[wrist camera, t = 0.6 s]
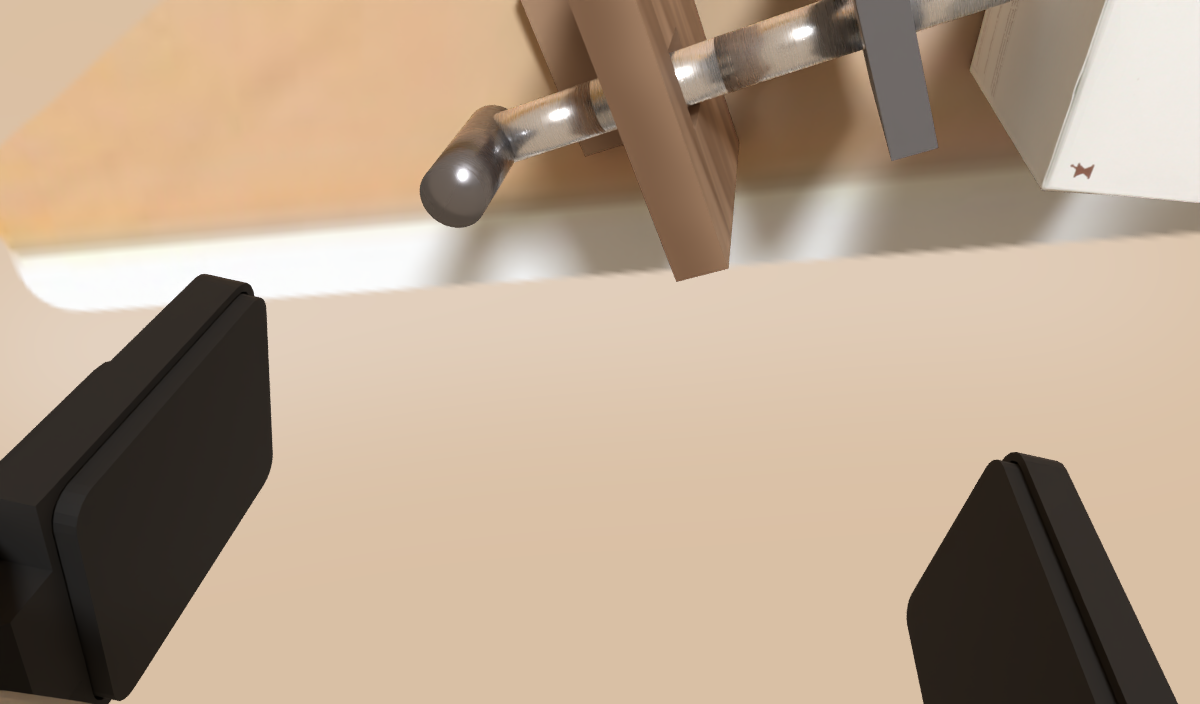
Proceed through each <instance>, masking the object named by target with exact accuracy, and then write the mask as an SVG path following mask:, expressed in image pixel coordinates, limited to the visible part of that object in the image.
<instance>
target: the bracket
mask: <svg viewBox="0 0 1200 704" xmlns="http://www.w3.org/2000/svg"><path fill="white" fill-rule="evenodd" d="M521 2H522V5H523V7H524V10H525V12H526V15H527V17H528V19H529V22H530V24H531V27H532V29H533V32H534V34H535V36H536V39H537V41H538V44H539V46H540V49H541V51H542V53H543V56H544V58H545V61H546V63H547V65H548V68H549V70H550V73H551V75H552V78H553V80H554V82H555V85H556V87H557V90H558V92H559V91H562V90H565V89H568V88H571V87H574V86H576V85H579V84H582V83H585V82H588V81H591V80H594V79H597V78H598V80H599V82H600V85H601V88H602V90H603V93H604V95H605V98H606V101H607V103H608V106H609V108H610V111H611V114H612V116H613V119H614V121H615V124H616V126H617V129H616V130H613V131H610V132H607V133H604V134H601V135H598V136H594V137H591V138H588V139H585V140H582V141H579V143H580V146H581V148H582V150H583V153H584V155H585V156H589V155H592V154H595V153H598V152H601V151H604V150H608V149H611V148H614V147H617V146H620V145H624V147H625V150H626V152H627V155H628V158H629V160H630V163H631V165H632V168H633V171H634V173H635V176H636V178H637V181H638V183H639V186H640V189H641V191H642V194H643V196H644V199H645V202H646V204H647V207H648V209H649V212H650V215H651V217H652V220H653V222H654V225H655V228H656V230H657V233H658V235H659V238H660V240H661V243H662V246H663V248H664V251H665V253H666V256H667V259H668V261H669V264H670V266H671V269H672V272H673V274H674V277H675V279H676V282H678V281H682V280H685V279H689V278H693V277H697V276H701V275H705V274H709V273H713V272H717V271H721V270H725V269H728V268H729V257H730V245H731V233H732V222H733V210H734V198H735V187H736V175H737V163H738V152H739V142H738V138H737V135H736V132H735V129H734V126H733V123H732V119H731V116H730V113H729V110H728V107H727V103H726V100H725V97H724V95H721V96H718V97H715V98H712V99H709V100H705V101H702V102H699V103H696V104H693V105H690V106H687V105H686V102H685V99H684V96H683V93H682V90H681V87H680V84H679V81H678V78H677V75H676V72H675V69H674V67H673V64H672V61H671V58H670V55H669V53H671V52H674V51H677V50H680V49H683V48H686V47H689V46H691V45H694V44H697V43H700V42H703V41H706V37H705V34H704V30H703V27H702V24H701V21H700V18H699V15H698V11H697V8H696V5H695V2H694V0H521Z"/></svg>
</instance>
